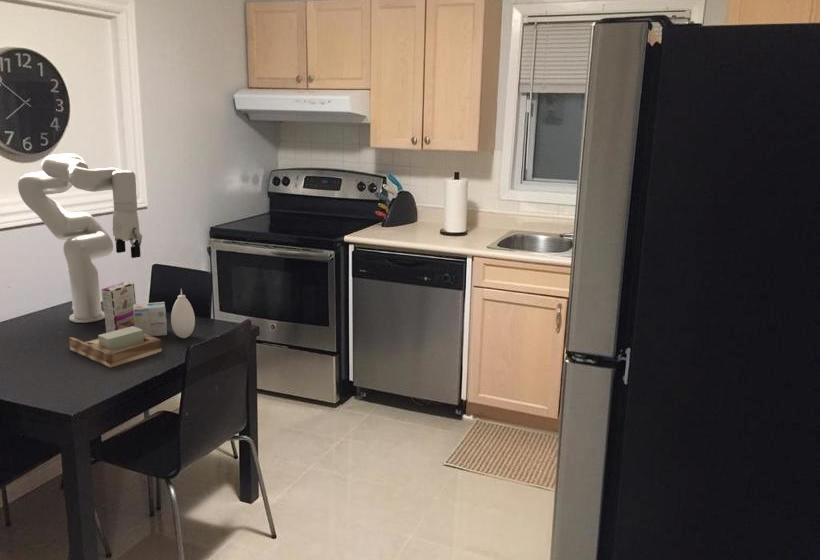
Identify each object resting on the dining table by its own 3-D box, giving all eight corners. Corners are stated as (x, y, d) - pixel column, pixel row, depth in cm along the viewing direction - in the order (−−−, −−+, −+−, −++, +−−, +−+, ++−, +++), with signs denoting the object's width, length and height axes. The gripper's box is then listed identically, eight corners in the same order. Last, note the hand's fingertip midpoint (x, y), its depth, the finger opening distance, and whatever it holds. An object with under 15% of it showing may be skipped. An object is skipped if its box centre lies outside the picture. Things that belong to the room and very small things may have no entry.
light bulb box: (167, 329, 238) (165, 301, 235) (167, 335, 232) (165, 306, 229) (135, 332, 234) (133, 303, 232) (135, 338, 228) (132, 308, 226)
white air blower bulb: (198, 333, 234) (195, 285, 230) (192, 341, 227) (189, 291, 222) (176, 333, 234) (173, 285, 230) (169, 341, 227) (165, 291, 222)
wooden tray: (70, 349, 216) (68, 337, 215) (121, 335, 230) (120, 324, 229) (110, 367, 203) (109, 354, 202) (161, 351, 217) (160, 339, 216)
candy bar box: (127, 323, 243) (123, 281, 238) (138, 325, 241) (135, 282, 237) (104, 333, 232) (100, 288, 228) (116, 335, 231) (112, 290, 227)
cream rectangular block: (99, 352, 211) (98, 335, 209) (134, 342, 220) (132, 326, 219) (109, 357, 208) (108, 339, 206) (144, 347, 217) (143, 329, 215)
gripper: (102, 204, 229) (105, 251, 234) (128, 211, 219) (131, 261, 224) (122, 202, 235) (125, 248, 239) (149, 209, 225) (151, 257, 229)
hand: (128, 254), depth 231 cm, fingers open, 9 cm apart
